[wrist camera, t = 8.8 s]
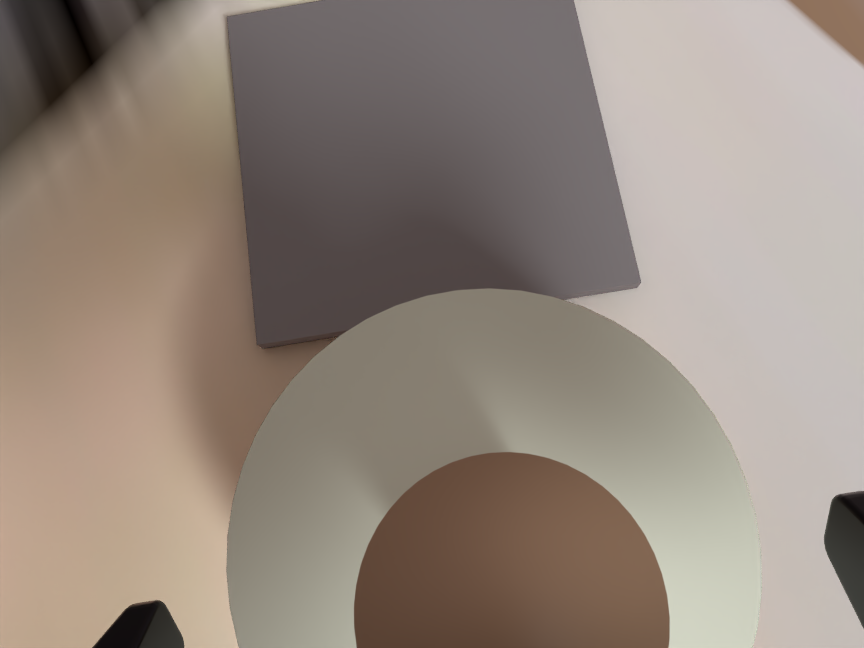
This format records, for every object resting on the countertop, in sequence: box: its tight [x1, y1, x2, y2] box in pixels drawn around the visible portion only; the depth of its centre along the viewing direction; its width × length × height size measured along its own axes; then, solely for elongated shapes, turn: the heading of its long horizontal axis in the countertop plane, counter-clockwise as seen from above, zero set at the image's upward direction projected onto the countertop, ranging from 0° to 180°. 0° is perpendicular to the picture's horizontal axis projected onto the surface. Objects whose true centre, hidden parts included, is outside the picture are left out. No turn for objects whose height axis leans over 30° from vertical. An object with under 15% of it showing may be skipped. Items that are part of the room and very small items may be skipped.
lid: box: [227, 288, 762, 648], centre depth 11 cm, size 12×12×10 cm
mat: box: [227, 0, 641, 349], centre depth 24 cm, size 13×13×1 cm
